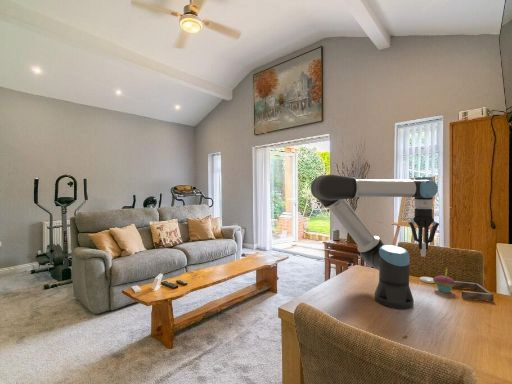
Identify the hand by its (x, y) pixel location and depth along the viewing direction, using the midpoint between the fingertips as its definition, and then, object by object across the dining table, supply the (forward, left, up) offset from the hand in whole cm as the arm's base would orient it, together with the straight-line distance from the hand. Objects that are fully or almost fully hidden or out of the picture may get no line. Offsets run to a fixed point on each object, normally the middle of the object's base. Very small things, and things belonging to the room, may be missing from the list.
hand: (423, 255), depth 128 cm
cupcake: (+9, 0, -16) cm, 19 cm away
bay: (+19, 0, -16) cm, 25 cm away
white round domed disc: (+6, +13, -16) cm, 21 cm away
